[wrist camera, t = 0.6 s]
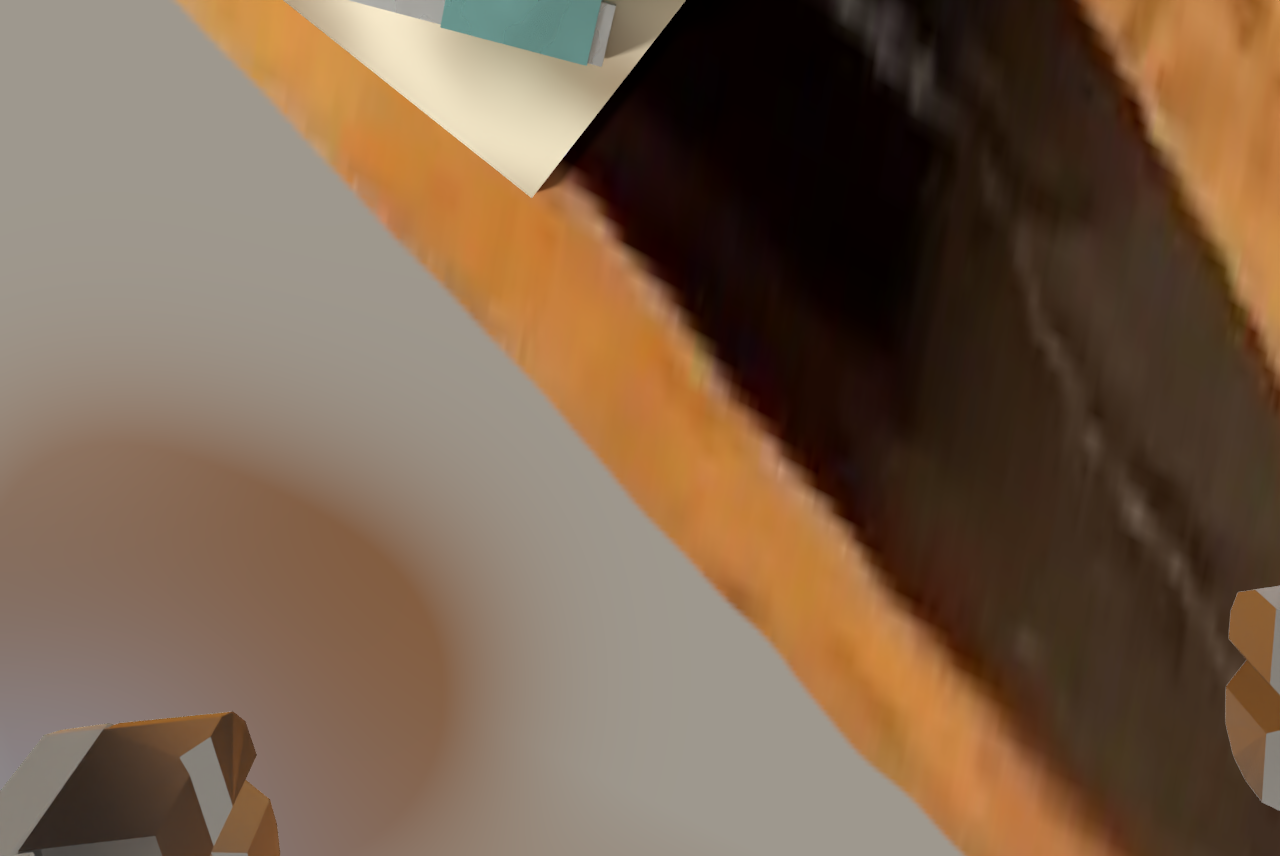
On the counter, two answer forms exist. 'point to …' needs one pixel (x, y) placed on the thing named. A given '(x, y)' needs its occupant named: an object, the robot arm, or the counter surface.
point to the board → (493, 79)
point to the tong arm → (521, 23)
